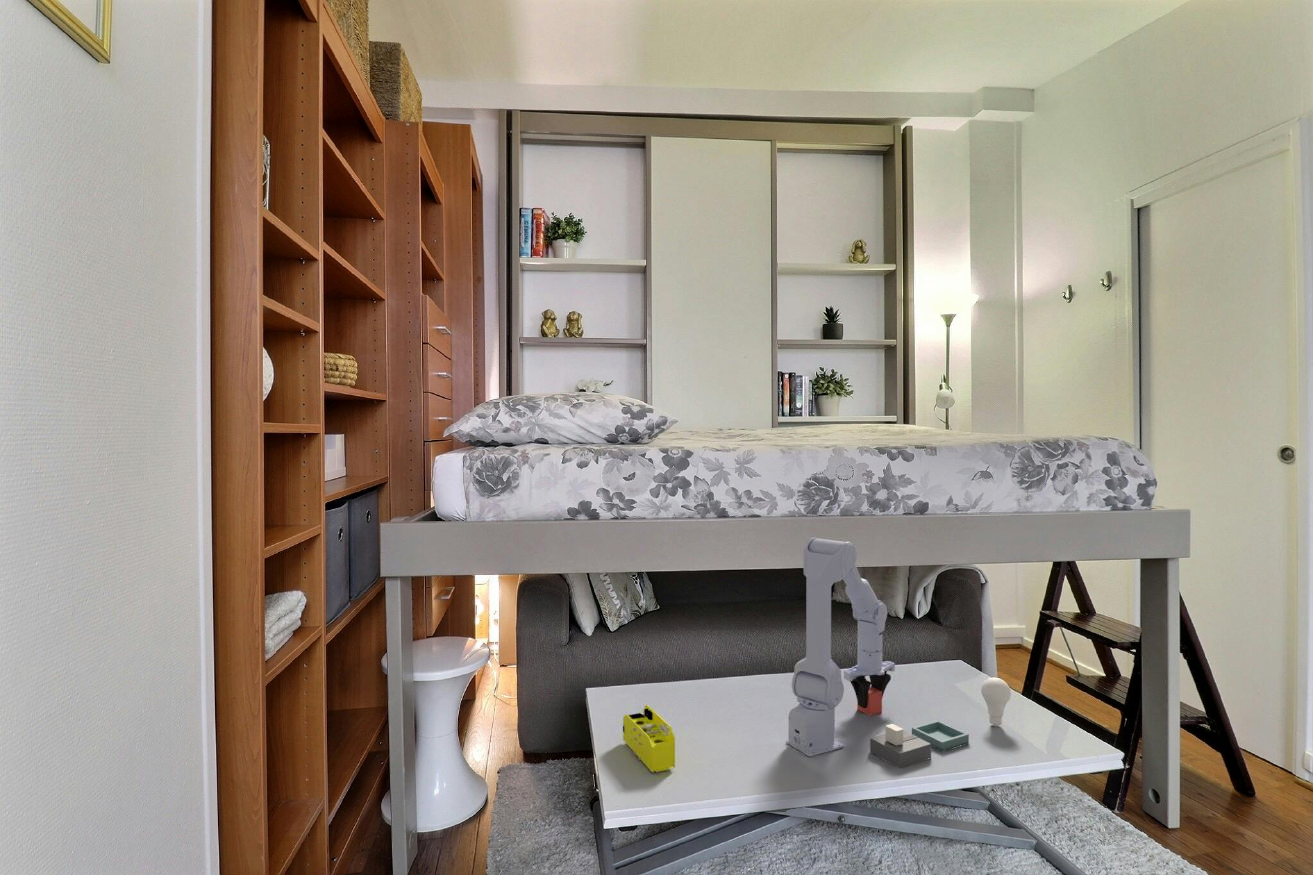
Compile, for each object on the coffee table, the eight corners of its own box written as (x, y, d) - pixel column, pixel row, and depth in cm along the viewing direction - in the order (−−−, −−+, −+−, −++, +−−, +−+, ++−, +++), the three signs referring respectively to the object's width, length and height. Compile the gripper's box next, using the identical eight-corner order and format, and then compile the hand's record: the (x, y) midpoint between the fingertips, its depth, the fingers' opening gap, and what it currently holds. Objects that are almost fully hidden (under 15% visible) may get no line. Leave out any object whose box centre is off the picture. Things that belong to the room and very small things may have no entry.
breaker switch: (896, 745, 148) (896, 731, 148) (885, 739, 151) (885, 725, 151) (903, 743, 149) (903, 729, 149) (892, 737, 152) (892, 723, 151)
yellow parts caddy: (677, 771, 144) (677, 729, 144) (651, 776, 142) (651, 735, 142) (646, 738, 159) (646, 701, 159) (621, 743, 157) (621, 705, 156)
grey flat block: (899, 768, 145) (899, 752, 145) (870, 751, 152) (870, 737, 152) (930, 758, 149) (931, 743, 149) (901, 742, 156) (901, 728, 156)
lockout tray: (942, 751, 152) (942, 742, 152) (911, 736, 159) (911, 727, 159) (968, 743, 156) (968, 734, 156) (937, 728, 163) (937, 720, 163)
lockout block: (869, 715, 171) (869, 694, 171) (857, 709, 174) (857, 688, 174) (881, 712, 173) (882, 691, 173) (869, 706, 176) (869, 685, 176)
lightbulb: (979, 728, 163) (980, 680, 163) (981, 718, 169) (982, 671, 169) (1009, 733, 161) (1010, 684, 160) (1010, 723, 166) (1011, 676, 166)
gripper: (859, 658, 166) (858, 716, 167) (904, 648, 173) (904, 704, 173) (837, 649, 172) (837, 706, 173) (882, 640, 179) (882, 694, 180)
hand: (869, 704), depth 173 cm, fingers closed on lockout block, 4 cm apart
